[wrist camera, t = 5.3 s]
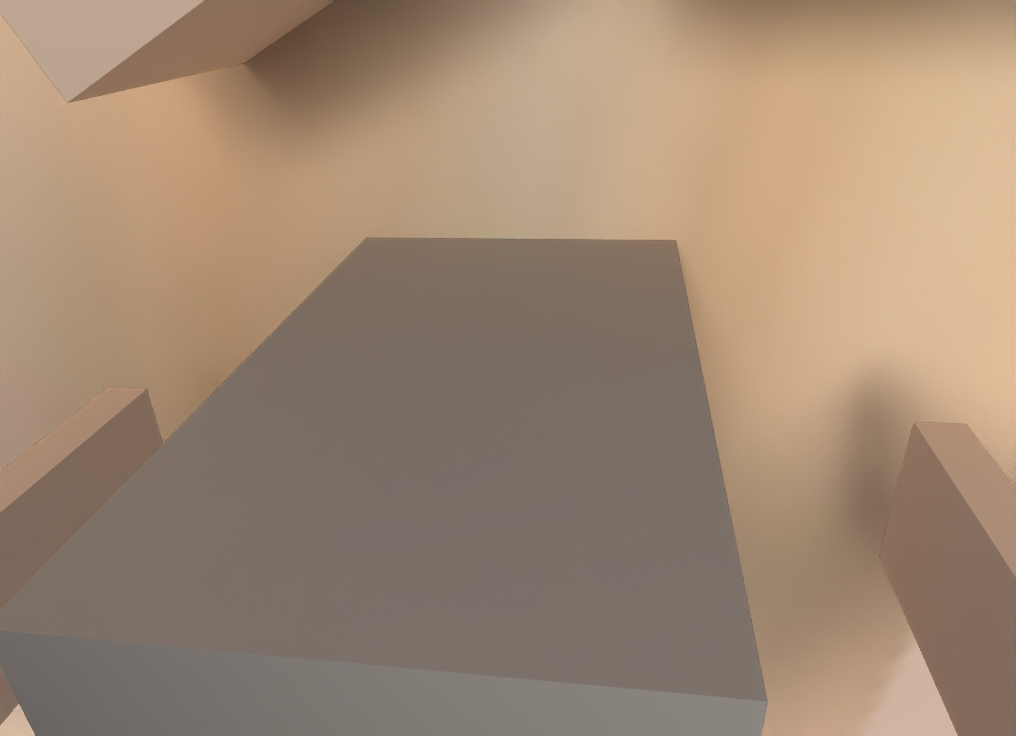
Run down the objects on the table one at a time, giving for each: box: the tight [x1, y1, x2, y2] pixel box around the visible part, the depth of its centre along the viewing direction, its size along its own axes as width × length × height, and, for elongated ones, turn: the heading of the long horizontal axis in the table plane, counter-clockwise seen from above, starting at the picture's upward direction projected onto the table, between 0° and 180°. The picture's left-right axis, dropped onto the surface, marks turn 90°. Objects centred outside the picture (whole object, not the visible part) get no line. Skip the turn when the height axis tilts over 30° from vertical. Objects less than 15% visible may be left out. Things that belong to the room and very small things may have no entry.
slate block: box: [0, 237, 767, 736], centre depth 11 cm, size 6×6×10 cm
